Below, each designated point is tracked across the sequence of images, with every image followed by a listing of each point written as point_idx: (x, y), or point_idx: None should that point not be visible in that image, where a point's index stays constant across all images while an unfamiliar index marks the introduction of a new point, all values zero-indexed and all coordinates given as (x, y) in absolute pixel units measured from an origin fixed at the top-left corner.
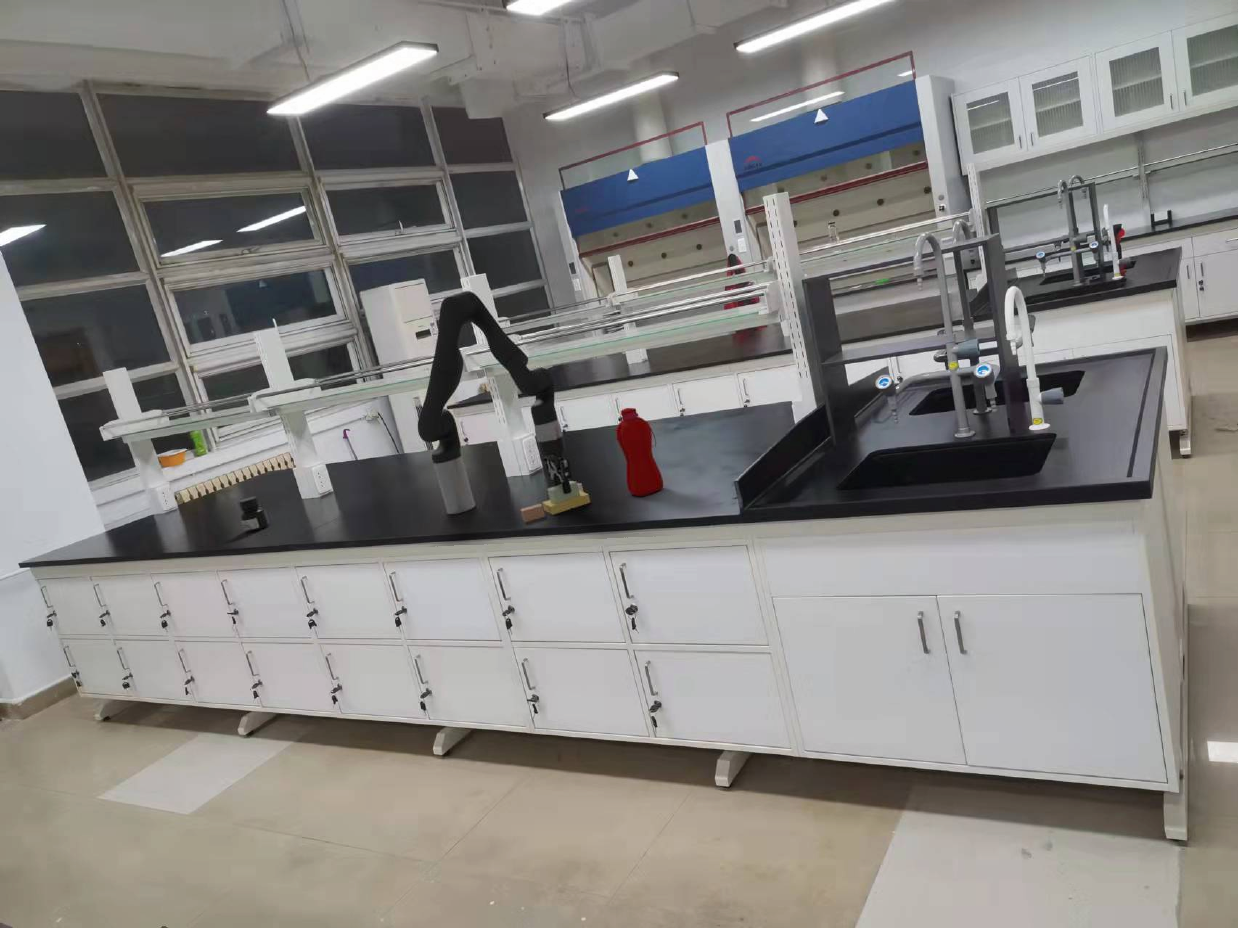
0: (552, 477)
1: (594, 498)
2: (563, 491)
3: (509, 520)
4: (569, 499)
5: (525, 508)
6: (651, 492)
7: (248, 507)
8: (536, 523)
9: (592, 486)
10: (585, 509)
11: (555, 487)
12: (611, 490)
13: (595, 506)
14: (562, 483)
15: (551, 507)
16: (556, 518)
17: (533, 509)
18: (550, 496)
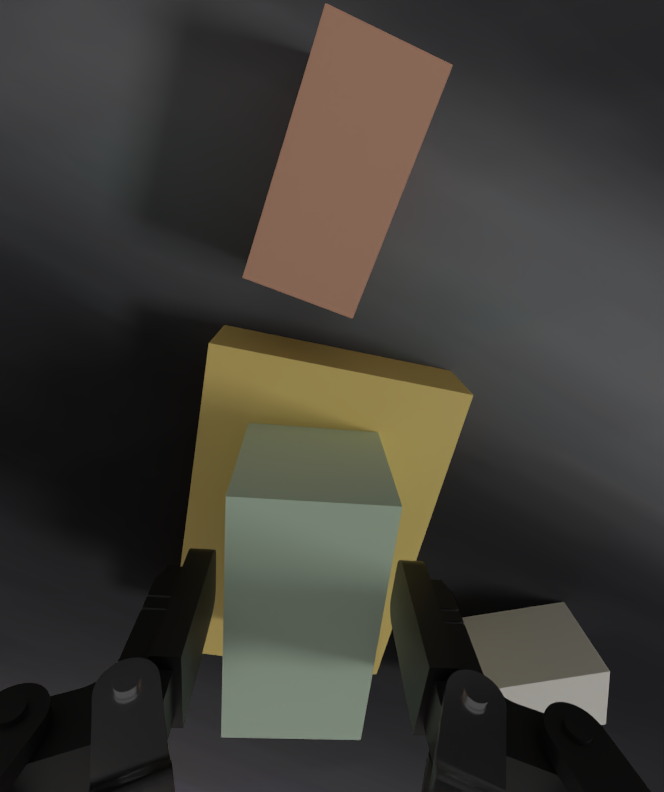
0: (442, 705)
1: None
2: (206, 563)
3: (604, 18)
4: (221, 531)
5: (395, 116)
6: None
7: None
8: (129, 93)
9: None
10: (45, 504)
11: (326, 574)
12: (275, 748)
13: (37, 565)
14: (154, 645)
15: (210, 348)
16: (66, 278)
17: (275, 169)
18: (348, 458)
